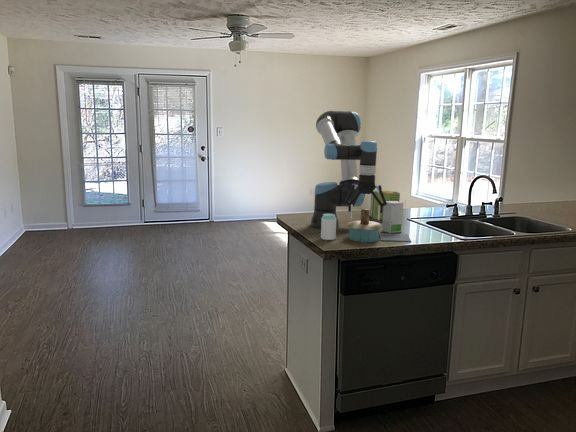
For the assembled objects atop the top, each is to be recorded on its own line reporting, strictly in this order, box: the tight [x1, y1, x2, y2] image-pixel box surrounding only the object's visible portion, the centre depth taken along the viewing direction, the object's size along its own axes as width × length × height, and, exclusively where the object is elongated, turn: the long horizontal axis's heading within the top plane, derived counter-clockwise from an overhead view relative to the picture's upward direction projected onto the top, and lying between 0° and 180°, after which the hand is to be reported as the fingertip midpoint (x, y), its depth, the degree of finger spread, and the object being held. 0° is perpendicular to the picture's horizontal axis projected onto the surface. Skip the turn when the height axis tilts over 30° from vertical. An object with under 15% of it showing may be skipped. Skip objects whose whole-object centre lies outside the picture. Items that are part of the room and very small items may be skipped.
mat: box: [379, 232, 412, 243], centre depth 232 cm, size 14×14×1 cm
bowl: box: [348, 227, 380, 243], centre depth 229 cm, size 14×14×6 cm
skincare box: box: [381, 201, 404, 234], centre depth 245 cm, size 8×7×16 cm
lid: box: [347, 208, 382, 230], centre depth 228 cm, size 16×16×8 cm
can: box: [320, 214, 337, 241], centre depth 226 cm, size 7×7×12 cm
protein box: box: [369, 190, 401, 220], centre depth 282 cm, size 10×15×16 cm
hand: (364, 219), depth 228 cm, fingers open, 12 cm apart
